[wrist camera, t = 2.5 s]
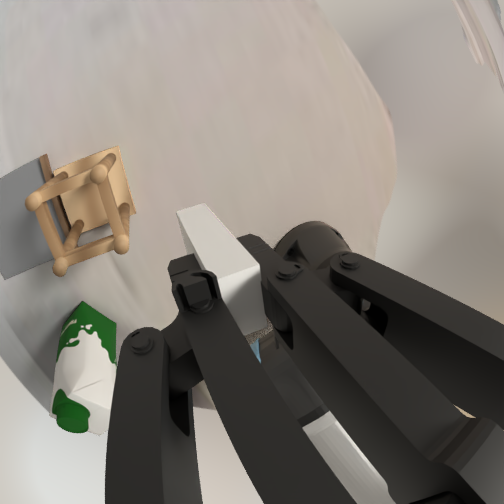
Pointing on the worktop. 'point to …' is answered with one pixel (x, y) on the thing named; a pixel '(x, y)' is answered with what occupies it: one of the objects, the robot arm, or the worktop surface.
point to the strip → (55, 200)
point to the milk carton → (85, 372)
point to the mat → (23, 222)
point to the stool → (86, 207)
